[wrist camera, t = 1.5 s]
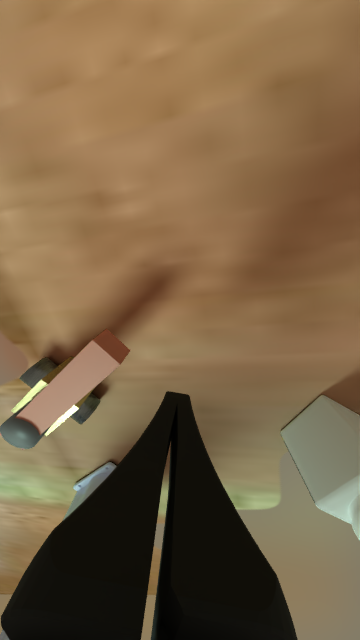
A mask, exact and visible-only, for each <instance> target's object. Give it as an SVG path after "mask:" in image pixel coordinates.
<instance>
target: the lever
mask: <svg viewBox="0 0 360 640" xmlns="http://www.w3.org/2000/svg"><path fill="white" fill-rule="evenodd" d="M129 352H130V350H129V349H128V348H127V347H126V346H125V345H124V344H123V343H122V342H121V341H119V340H118V339H117V338H116V337H115V336H114V335H113V334H112V333H111V332H110V331H109V330H107V329H105V330H104V331H103V332H102V333H100V334H99V335H98V336H97V337H95V338H94V339H93V340H92V341H91V342H90V343H89V344H88V345H87V346H86V347H85V348H84V349H83V350H82V351H81V352H80V353H79V354H78V355H77V356H76V357H75V358H74V359H73V360H72V361H71V362H70V363H69V364H68V365H67V366H66V367H65V368H64V369H63V370H62V371H61V372H60V373H59V374H58V375H57V376H56V377H55V378H54V379H53V380H52V381H51V382H50V383H49V384H48V385H47V386H46V387H45V388H44V389H43V390H42V391H41V392H40V393H39V394H38V395H37V396H36V397H35V398H34V399H33V400H30V401H29V402H27V403H26V404H25V405H24V406H23V407H22V408H20V409H19V410H18V411H17V412H16V413H15V414H13V415H12V416H11V417H10V418H9V419H8V420H6V421H5V422H4V423H3V424H2V425H1V427H0V435H1V436H2V437H3V438H4V439H5V440H6V441H7V442H8V443H10V444H11V445H13V446H15V447H18V448H21V449H22V450H24V449H29V448H32V447H34V446H35V445H36V444H37V443H38V441H39V440H40V439H41V438H42V437H43V436H44V434H45V433H46V432H47V431H48V430H49V429H50V427H51V426H52V425H53V424H54V423H55V422H56V421H57V420H58V419H59V418H60V417H61V416H62V415H64V414H65V413H66V412H67V411H68V410H69V409H70V408H72V407H73V406H74V405H75V404H76V403H77V402H78V401H80V400H81V399H82V398H83V397H84V396H85V395H86V394H87V393H89V392H90V391H91V390H92V389H93V388H94V387H95V386H97V385H98V384H99V383H100V382H101V381H102V380H103V379H105V378H106V377H107V376H108V375H109V374H110V373H111V372H113V371H114V370H115V369H116V368H117V367H118V366H119V365H121V363H122V362H123V360H124V359H125V357H126V356H127V355H128V353H129Z"/></svg>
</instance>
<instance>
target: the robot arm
mask: <svg viewBox="0 0 360 640" xmlns="http://www.w3.org/2000/svg"><path fill="white" fill-rule="evenodd" d="M170 441H171V452H170V472H169V490H168V501H167V510H166V519H165V527H164V536H163V544H162V552H161V561H160V569H159V577H158V586H157V594H156V602H155V610H154V619H153V626H152V627H153V628H152V635H151V640H297V637H296V632H295V628H294V625H293V621H292V618H291V615H290V612H289V609H288V606H287V603H286V600H285V597H284V594H283V591H282V589H281V586H280V583H279V580H278V578H277V575H276V573H275V572H274V571H273V569H272V567H271V566H270V564H269V563H268V561H267V559H266V558H265V556H264V555H263V553H262V552H261V550H260V549H259V547H258V545H257V544H256V542H255V541H254V539H253V538H252V536H251V534H250V533H249V531H248V529H247V528H246V526H245V524H244V523H243V521H242V519H241V518H240V516H239V514H238V513H237V511H236V509H235V507H234V505H233V503H232V501H231V500H230V498H229V496H228V494H227V492H226V491H225V489H224V487H223V485H222V483H221V481H220V479H219V477H218V475H217V473H216V471H215V469H214V467H213V464H212V462H211V460H210V458H209V456H208V453H207V451H206V448H205V446H204V443H203V441H202V438H201V435H200V433H199V430H198V427H197V424H196V421H195V417H194V414H193V410H192V406H191V401H190V396H189V395H187V394H181V393H175V392H169V391H168V392H166V394H165V397H164V399H163V401H162V403H161V405H160V407H159V409H158V411H157V412H156V414H155V416H154V418H153V419H152V421H151V422H150V424H149V425H148V427H147V428H146V430H145V431H144V433H143V434H142V436H141V437H140V438H139V440H138V441H137V442H136V444H135V445H134V446H133V448H132V449H131V450H130V451H129V453H128V454H127V455H126V456H125V457H124V459H123V460H122V461H121V462H120V463H119V464H118V466H116V465H115V464H113V463H112V462H108V463H106V464H105V465H103V466H102V467H100V468H99V469H97V470H96V471H94V472H93V473H91V474H90V475H88V476H87V477H85V478H84V479H82V480H80V481H79V482H77V483H76V484H75V485H74V487H73V488H74V489H75V490H76V491H77V493H76V495H75V497H74V499H73V501H72V503H71V505H70V507H69V509H68V511H67V513H66V515H65V517H64V519H63V521H62V522H61V523H60V524H59V525H58V526H57V527H56V528H55V529H54V530H53V531H52V532H51V534H50V535H49V536H48V538H47V539H46V541H45V542H44V543H43V545H42V546H41V548H40V549H39V551H38V552H37V554H36V555H35V557H34V558H33V560H32V562H31V563H30V565H29V566H28V568H27V570H26V571H25V573H24V575H23V576H22V578H21V580H20V582H19V584H18V586H17V588H16V589H15V591H14V593H13V595H12V597H11V599H10V601H9V603H8V604H7V607H6V608H5V610H4V612H3V614H2V616H1V626H2V628H3V630H2V632H1V634H0V640H141V633H142V627H143V619H144V613H145V605H146V598H147V591H148V584H149V576H150V569H151V561H152V554H153V547H154V539H155V531H156V524H157V517H158V510H159V502H160V495H161V488H162V480H163V474H164V469H165V464H166V460H167V455H168V450H169V446H170Z"/></svg>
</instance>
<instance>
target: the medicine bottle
mask: <svg viewBox="0 0 360 640" xmlns="http://www.w3.org/2000/svg"><path fill="white" fill-rule="evenodd" d="M280 434H281V436H282V438H283V440H284V442H285V444H286V446H287V448H288V450H289V452H290V454H291V456H292V458H293V460H294V462H295V464H296V466H297V468H298V470H299V472H300V474H301V476H302V478H303V480H304V482H305V484H306V486H307V488H308V490H309V492H310V494H311V497H312V498H313V501H314V503H315V505H316V506H317V507H318V508H319V509H321V510H323V511H325V512H327V513H329V514H331V515H333V516H335V517H337V518H340V519H342V520H344V521H346V522H348V523H350V524H352V527H353V530H354V532H355V533H356V535H357V537H358V538H359V540H360V415H358V414H357V413H355V412H353V411H351V410H349V409H348V408H346V407H344V406H342V405H341V404H339V403H337V402H335V401H334V400H332V399H330V398H328V397H326V396H325V395H321V396H319V397H318V398H317V399H316V400H315V401H314V402H313V403H312V404H310V405H309V406H308V407H307V408H306V409H305V410H304V411H303V412H302V413H300V414H299V415H298V416H297V417H296V418H295V419H294V420H293V421H292V422H290V423H289V424H288V425H287V426H286V427H285V428H284V429H283V430H282V431H281V432H280Z"/></svg>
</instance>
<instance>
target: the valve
mask: <svg viewBox="0 0 360 640" xmlns="http://www.w3.org/2000/svg"><path fill="white" fill-rule="evenodd" d="M73 359H74V358H73V357H72V356H71V357H69V358H68V359H67V360H65V361H64V362H63V363H62V364H60V365H59V366H57V365H56V364H55V363H53V362H52V361H51V360H50V359H48V358H47V357H45V358H43V359H42V360H40V361H39V362H37V363H36V364H35V365H33V366H32V367H31V368H29V369H28V370H27V371H26V372H25V373H24V374H23V375H22V376H21V377H20V380H22V381H23V382H24V383H26V384H27V385H28V386H30V387H31V388H32V390H31V391H30V392H29V393H28V394H27V395H26V396H25V397H24V398H23V399H22V400H21V401H20V402H19V403H18V404H17V405H16V406H15V407H14V408H13V409H12V412H14V413H16V412H17V411H18V410H19V409H20V408H22V407H23V406H24V405H25V404H26V403H27V402H29V401H30V400H33V399H34V398H35V397H36V396H37V395H38V394H39V393H40V392H41V391H42V390H43V389H44V388H45V387H46V386H47V385H48V384H49V383H50V382H51V381H52V380H53V379H54V378H55V377H56V376H57V375H58V374H59V373H60V372H61V371H62V370H63V369H64V368H65V367H66V366H67V365H68V364H69V363H70V362H71V361H72V360H73ZM95 387H96V386H95ZM95 387H94V388H95ZM94 388H93V389H94ZM93 389H92V390H91V391H90V392H89V393H87V394H86V395H85V396H84V397H83V398H82V399H81V400H80V401H78V402H77V403H76V404H75V405H74V406H73V407H72V408H70V409H69V410H68V411H67V412H66V413H65V414H64V415H62V416H61V417H60V418H59V419H58V420H57V421H56V422H55V423H54V424H53V425H52V426H51V427H50V429H49V430H48V431H47V432H46V433H45V435H46V436H47V435H48V434H50V433H51V432H52V431H53V430H54V429H55V428H57V427H58V426H59V425H60V424H61V423H62V422H64V421H65V420H66V419H67V418H68V417H69V416H70V417H71V418H72V419H74V420H75V421H76V422H78V423H79V424H82V423H83V422H85V421H86V420H87V419H88V418H89V417H90V415H91V414H92V413H93V412H94V411H95V409H96V408H97V406H98V405H99V403H100V400H99V399H98V398H97V397H96V396H94V395H93V394H92V393H91V392H92V391H93Z"/></svg>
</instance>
